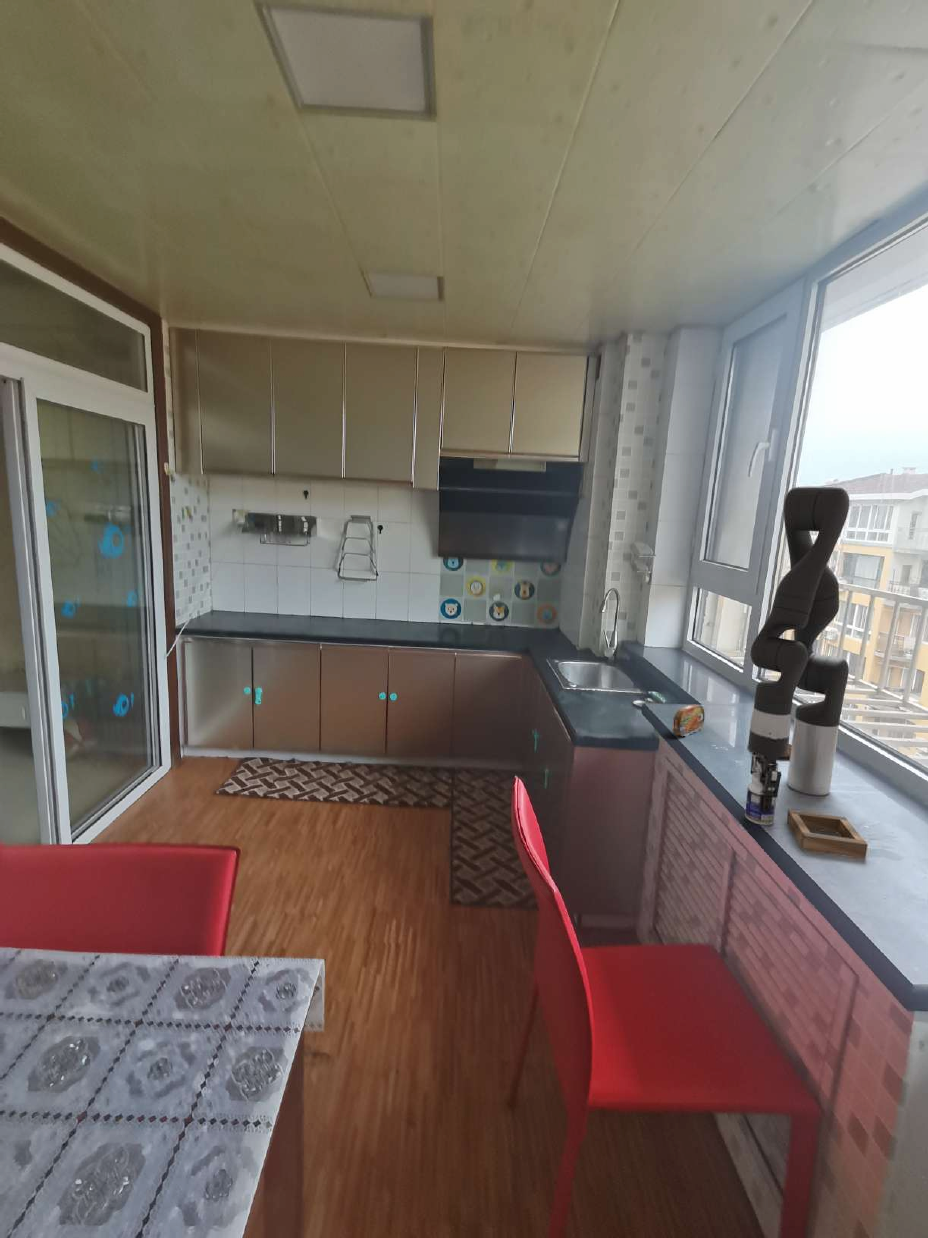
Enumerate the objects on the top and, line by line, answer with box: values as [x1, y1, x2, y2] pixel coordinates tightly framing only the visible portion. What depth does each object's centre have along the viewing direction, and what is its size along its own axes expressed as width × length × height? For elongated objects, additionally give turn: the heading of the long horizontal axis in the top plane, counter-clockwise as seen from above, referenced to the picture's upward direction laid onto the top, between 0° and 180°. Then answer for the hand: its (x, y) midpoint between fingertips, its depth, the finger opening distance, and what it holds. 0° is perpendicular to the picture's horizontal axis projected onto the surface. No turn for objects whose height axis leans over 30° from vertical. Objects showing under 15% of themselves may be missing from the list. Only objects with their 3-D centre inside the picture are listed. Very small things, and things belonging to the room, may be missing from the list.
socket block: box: [786, 809, 869, 860], centre depth 121 cm, size 11×11×3 cm
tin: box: [673, 704, 705, 737], centre depth 181 cm, size 15×3×8 cm, turn 131°
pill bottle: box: [744, 772, 777, 826], centre depth 128 cm, size 6×6×10 cm
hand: (760, 804), depth 128 cm, fingers closed on pill bottle, 5 cm apart
